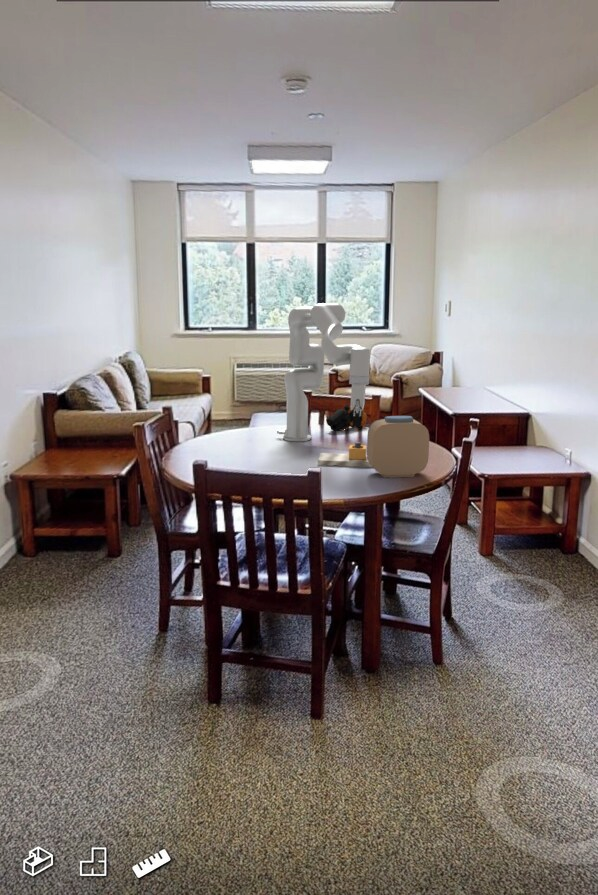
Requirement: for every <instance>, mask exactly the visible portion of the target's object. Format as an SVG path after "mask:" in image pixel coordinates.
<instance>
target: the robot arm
mask: <svg viewBox="0 0 598 895" xmlns="http://www.w3.org/2000/svg"><path fill="white" fill-rule="evenodd" d="M287 318H288V320H287V323H288V328H289V351H288V354H289V356H288V358H289V359H288V360H289V363H290V365H292V366H294V367H304V368H293V369H290V370H287V371H286V372H285V374H284V377H283V378H284V380H283V381H284V386H285V396H286V428H284V429H276V430H277V431H276V434H279V435H283V440H284V441H287V442H296V443H297V442H300V443H301V442H307V441H310V440H312V435H310V434H308V433H309V432H308V431H309V430H308V428H309V426H308V424H309V422H308V421H309V415H308V414H309V413H308V412H309V400H308V397H307V395H306V394H305V392H304V391H306V390H308V391H309V390H316V389H319V388H321V386H322V384H323V380H324V371H325V370H324V369H325V359H327V360H328V362H329V363H330V364H332V365H334V366H338V365H339V366H340V365H341V366H342V365H349V376H348V377H349V381H348V383H349V385H351V389H350V391H351V392H350V406H351V408H350V409H351V410H352V409H354V416H353V426H354V427H353V428H355V427H357V428H362V427H361V421H362V413H363V411H362V410H363V409H364V408H365V407H364V406H365V402H366V400H365V399H366V389H367V388H366V386H368V385H369V384H370V368H371V349H370V348H369V347H367V346H365V347H364V346H361V345H359V344H335V342H334V341H335V340H337V339H338V338H340V336H341V335H342V333H343V331H344V328H343V325H342V323H343V322H344V321H345V319H346V311H345V308H344V306H343V305H342V304H340V303H339V302H328V303H327V302H325V303H324V302H322V303H320V302H319V303H316V304H314V305H313V306H298V307H294V308H293V309H291V310H290V312H289V314H288V317H287ZM315 327H317V328H318V330H319V331H320V333H321V335H322V337H321V343H320V344H321V345H320V344H317V343H310V338H311V337H310V336H311V335H310V332H309V330H308V328H315ZM305 367H307V368H305ZM308 367H309V368H308Z"/></svg>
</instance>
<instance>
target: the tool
mask: <svg viewBox="0 0 598 895" xmlns="http://www.w3.org/2000/svg"><path fill="white" fill-rule="evenodd" d="M350 408H351V405H350V406H349V404H345V406H344V409H343V408H338V409H337V410H335V412H333V414H332V415H330V416H328V418H326V420H325V421H326V424H327V426H329V427H330V430H332V431H336V432H340V431H342V430H344V429H346V428H347V429H349V428H355V427H354V426H353V416H354V409H352V410H351V409H350ZM362 411H363V413H362V421H361V426H362V427H361V428H363V427H364V426H365V425H366V423H367V418H368V415H367V413H366V412H365V409H364V408H363V410H362ZM347 429H346V430H347ZM344 431H345V430H344Z"/></svg>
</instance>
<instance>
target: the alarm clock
mask: <svg viewBox="0 0 598 895" xmlns="http://www.w3.org/2000/svg"><path fill="white" fill-rule="evenodd" d="M366 442H367V443H366V454H367V458H368V462H369V463H370V465H371V466H372V467H371V468H373V469H374V470H375V471H376V473H378V474H380V475H381V476H382V478H384V477H390V478H411V477H412V478H413V477H415V476H416V474H419V473H421V472H423V471H424V470H425V469H426V468H427V465H428V463H429V456H430V454H429V453H430V434H429V429H428V428H427V427H426V425H424V424H422V423H420V422H419V421H417V420H416V419H414V417H413V416H411V415H390V416H389V415H388V416H385V417H384V418H381V419H378V420H376V419H375V420H374V421H373V422H371V424H370V425H369V427H368V429H367V440H366Z"/></svg>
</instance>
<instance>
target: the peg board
mask: <svg viewBox="0 0 598 895" xmlns="http://www.w3.org/2000/svg"><path fill="white" fill-rule="evenodd" d="M354 445H355V448H361V445H362V442H360V441H356V442H354ZM318 464H319V465H318ZM317 465H318V466H325V465H339V466H338V467H353V466H357V467H358V466H360V467H358V468H373V467H372V466H371V465H370V463H369V462H368V458H367V453H366V459H349V453H339V452H338V453H337V452H336V453H335V452H333V453H331V452H320V454H319V457H318V459H317Z"/></svg>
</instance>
